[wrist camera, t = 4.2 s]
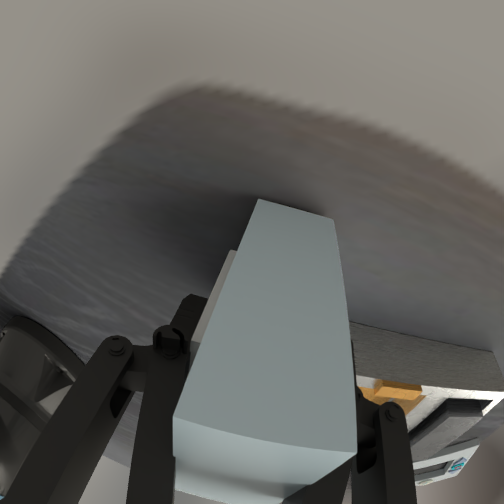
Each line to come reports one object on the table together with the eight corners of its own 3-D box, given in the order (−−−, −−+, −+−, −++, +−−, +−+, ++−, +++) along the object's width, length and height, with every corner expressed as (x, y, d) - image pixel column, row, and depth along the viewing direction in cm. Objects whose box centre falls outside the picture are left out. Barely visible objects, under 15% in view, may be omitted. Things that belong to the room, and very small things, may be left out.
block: (231, 312, 20) (173, 489, 10) (258, 198, 16) (172, 416, 5) (290, 327, 20) (266, 510, 9) (333, 219, 16) (357, 452, 5)
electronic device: (480, 447, 25) (456, 477, 32) (477, 434, 27) (455, 467, 34) (354, 475, 31) (357, 497, 37) (354, 461, 33) (357, 486, 39)
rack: (291, 407, 26) (284, 458, 21) (344, 320, 20) (348, 387, 15) (420, 423, 25) (426, 467, 21) (493, 352, 19) (512, 402, 14)
